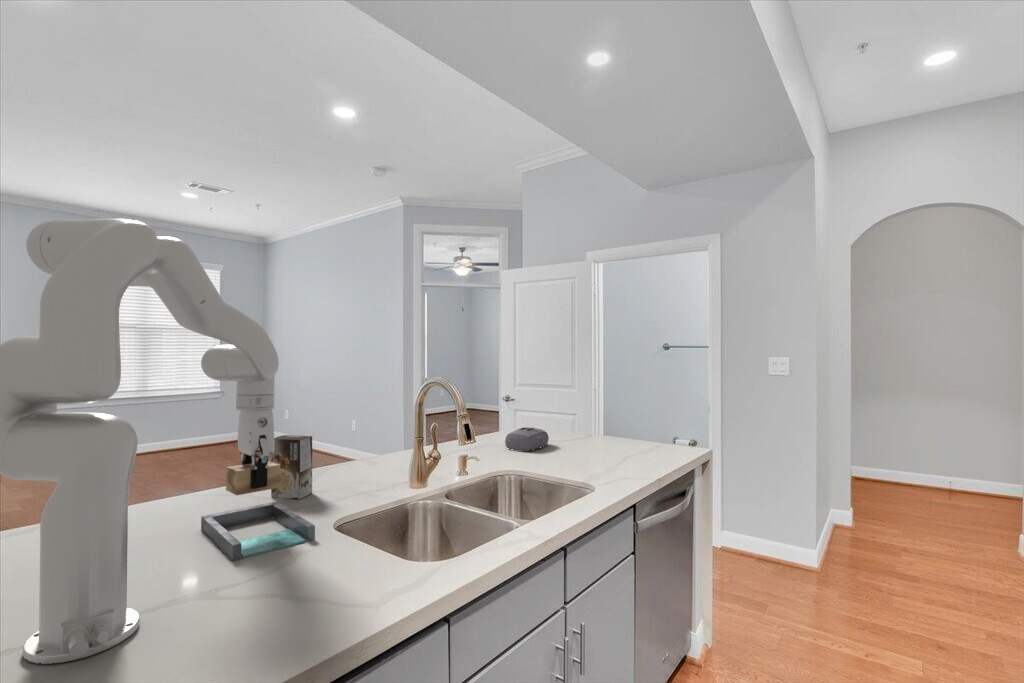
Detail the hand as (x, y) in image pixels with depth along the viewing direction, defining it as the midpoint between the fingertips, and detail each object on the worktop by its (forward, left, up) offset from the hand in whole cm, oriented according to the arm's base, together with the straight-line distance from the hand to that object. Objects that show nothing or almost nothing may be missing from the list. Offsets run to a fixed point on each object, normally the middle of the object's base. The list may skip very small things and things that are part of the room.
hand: (253, 483), depth 113 cm
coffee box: (+23, -17, -11) cm, 31 cm away
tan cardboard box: (0, 0, -1) cm, 1 cm away
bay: (-2, 0, -11) cm, 11 cm away
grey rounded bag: (+26, -114, -11) cm, 118 cm away
